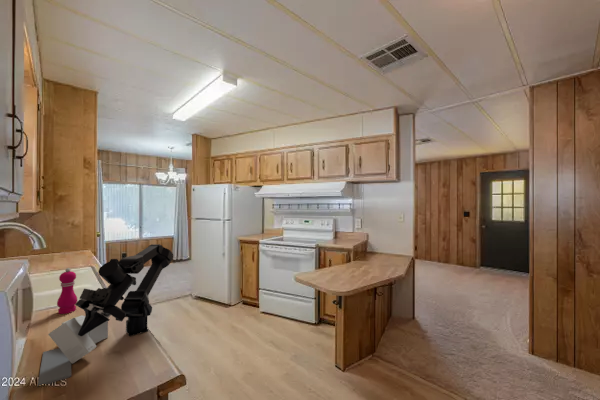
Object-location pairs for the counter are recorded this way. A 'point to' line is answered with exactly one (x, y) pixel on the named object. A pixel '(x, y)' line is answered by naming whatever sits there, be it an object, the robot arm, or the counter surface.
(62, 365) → the rubber mat
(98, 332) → the supplement box
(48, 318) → the counter surface
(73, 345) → the skincare box
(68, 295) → the pepper mill
